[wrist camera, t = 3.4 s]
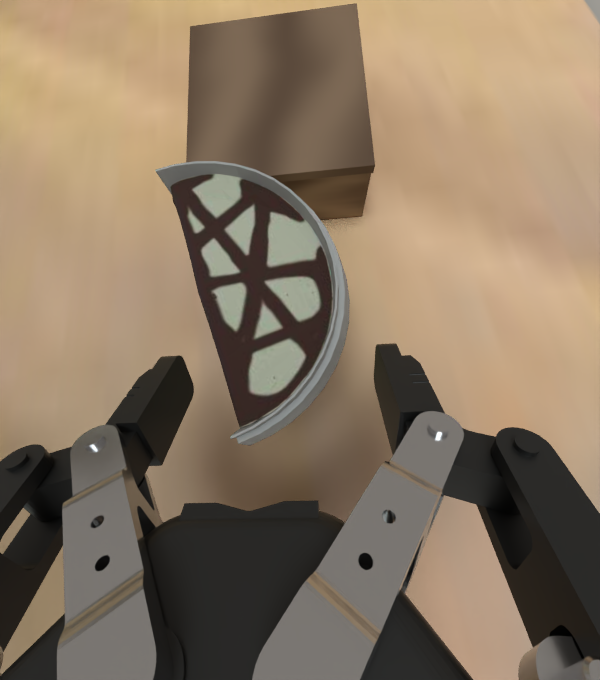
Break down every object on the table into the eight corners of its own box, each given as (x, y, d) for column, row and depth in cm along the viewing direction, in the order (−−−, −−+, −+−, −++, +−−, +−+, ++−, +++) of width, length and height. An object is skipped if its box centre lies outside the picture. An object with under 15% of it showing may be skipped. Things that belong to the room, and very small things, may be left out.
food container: (367, 395, 20) (409, 393, 10) (279, 426, 20) (234, 454, 10) (305, 236, 22) (290, 108, 12) (227, 264, 22) (152, 159, 12)
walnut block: (215, 230, 23) (185, 184, 18) (216, 99, 25) (190, 26, 20) (363, 217, 22) (374, 165, 17) (350, 83, 24) (356, 3, 19)
